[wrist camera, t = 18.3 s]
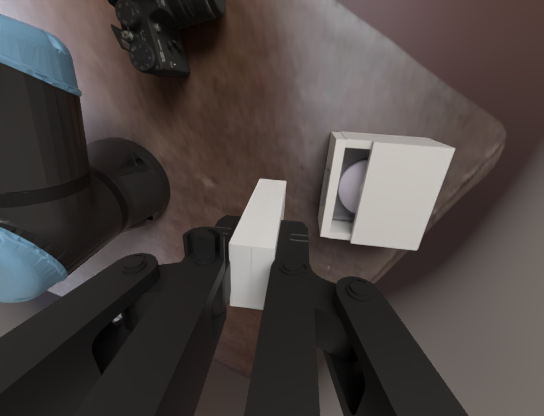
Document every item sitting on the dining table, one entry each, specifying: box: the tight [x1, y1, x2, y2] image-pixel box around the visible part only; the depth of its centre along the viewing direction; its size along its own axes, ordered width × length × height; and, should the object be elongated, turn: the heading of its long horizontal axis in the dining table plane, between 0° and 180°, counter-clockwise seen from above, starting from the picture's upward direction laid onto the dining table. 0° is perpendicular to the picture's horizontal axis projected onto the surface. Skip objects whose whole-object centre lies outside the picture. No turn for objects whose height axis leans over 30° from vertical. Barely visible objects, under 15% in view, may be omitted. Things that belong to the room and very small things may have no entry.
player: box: [328, 131, 455, 250], centre depth 35 cm, size 12×14×7 cm
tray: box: [318, 132, 370, 237], centre depth 35 cm, size 12×14×6 cm
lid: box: [338, 159, 368, 213], centre depth 35 cm, size 8×8×2 cm
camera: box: [108, 0, 225, 77], centre depth 27 cm, size 14×11×10 cm
